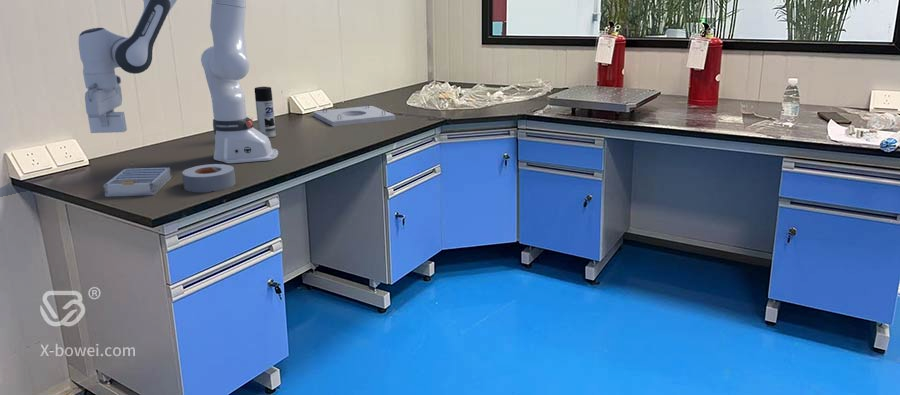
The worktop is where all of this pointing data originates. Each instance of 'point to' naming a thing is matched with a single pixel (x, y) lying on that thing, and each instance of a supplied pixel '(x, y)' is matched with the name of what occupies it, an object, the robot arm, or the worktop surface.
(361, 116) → the mounting panel
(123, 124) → the panel
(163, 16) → the robot arm
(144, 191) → the rack
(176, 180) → the worktop surface
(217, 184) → the tape roll
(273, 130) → the spray can
